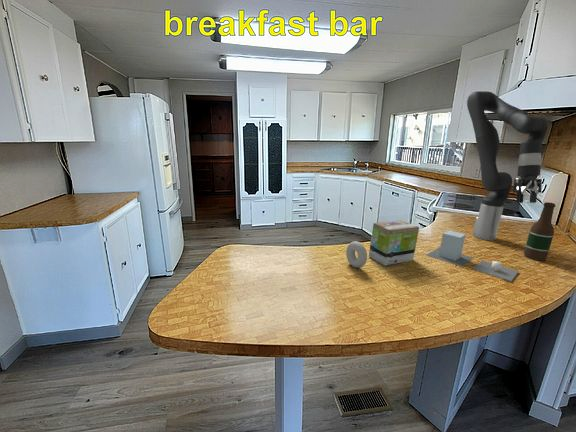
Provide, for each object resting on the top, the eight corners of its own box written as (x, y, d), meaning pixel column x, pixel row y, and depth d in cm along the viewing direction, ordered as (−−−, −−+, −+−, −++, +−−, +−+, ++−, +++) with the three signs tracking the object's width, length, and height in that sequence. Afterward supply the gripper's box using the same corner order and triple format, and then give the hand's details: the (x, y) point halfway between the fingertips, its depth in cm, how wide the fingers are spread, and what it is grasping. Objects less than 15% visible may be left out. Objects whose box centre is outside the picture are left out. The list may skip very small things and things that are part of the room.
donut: (367, 271, 104) (370, 246, 101) (360, 273, 102) (363, 247, 99) (350, 260, 112) (352, 237, 110) (343, 262, 111) (345, 238, 108)
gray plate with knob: (472, 270, 108) (474, 261, 107) (481, 261, 116) (483, 253, 115) (510, 282, 100) (513, 273, 99) (518, 272, 107) (520, 263, 106)
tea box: (385, 267, 108) (390, 230, 104) (368, 256, 117) (372, 222, 113) (414, 261, 114) (420, 225, 110) (395, 251, 123) (400, 219, 119)
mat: (425, 256, 120) (425, 255, 120) (438, 248, 129) (439, 247, 129) (462, 267, 110) (462, 266, 110) (473, 258, 119) (474, 257, 119)
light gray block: (438, 255, 119) (443, 233, 117) (444, 252, 123) (449, 230, 121) (455, 261, 115) (460, 237, 112) (460, 257, 119) (465, 234, 116)
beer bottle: (550, 262, 118) (568, 206, 112) (529, 260, 119) (545, 204, 113) (538, 254, 125) (554, 201, 119) (518, 253, 127) (533, 200, 120)
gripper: (530, 166, 128) (527, 202, 129) (508, 164, 123) (505, 202, 124) (550, 164, 121) (547, 203, 122) (527, 163, 116) (524, 203, 117)
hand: (526, 202), depth 123 cm, fingers open, 8 cm apart
